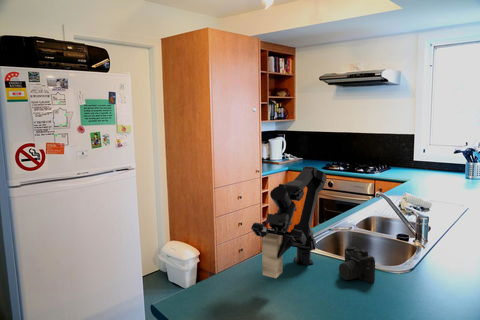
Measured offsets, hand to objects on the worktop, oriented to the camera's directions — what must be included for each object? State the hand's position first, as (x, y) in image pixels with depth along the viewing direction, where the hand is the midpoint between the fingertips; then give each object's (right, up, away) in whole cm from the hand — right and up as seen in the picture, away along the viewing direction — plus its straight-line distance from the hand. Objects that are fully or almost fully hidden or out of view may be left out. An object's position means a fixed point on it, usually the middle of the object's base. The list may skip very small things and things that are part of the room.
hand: (270, 256), depth 120 cm
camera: (+32, -12, +14) cm, 36 cm away
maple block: (+1, -6, +2) cm, 7 cm away
